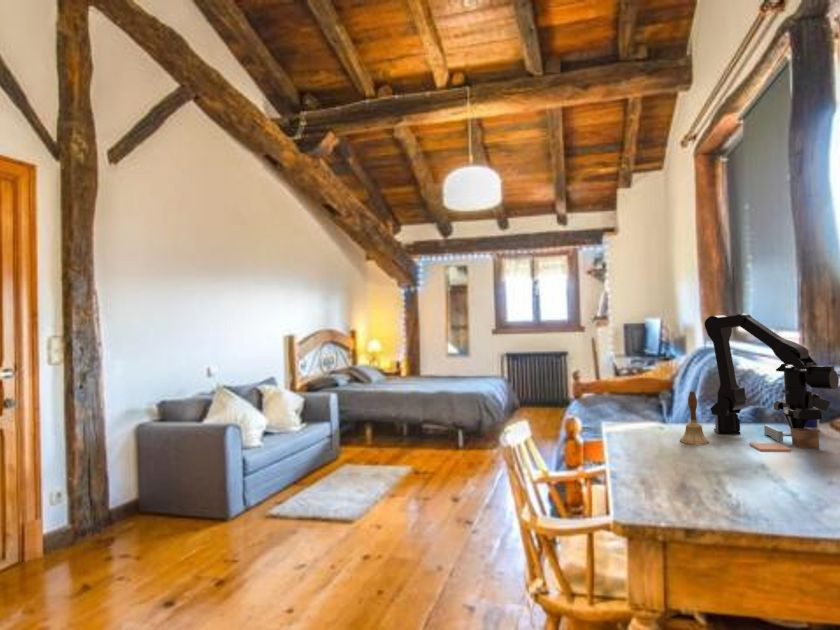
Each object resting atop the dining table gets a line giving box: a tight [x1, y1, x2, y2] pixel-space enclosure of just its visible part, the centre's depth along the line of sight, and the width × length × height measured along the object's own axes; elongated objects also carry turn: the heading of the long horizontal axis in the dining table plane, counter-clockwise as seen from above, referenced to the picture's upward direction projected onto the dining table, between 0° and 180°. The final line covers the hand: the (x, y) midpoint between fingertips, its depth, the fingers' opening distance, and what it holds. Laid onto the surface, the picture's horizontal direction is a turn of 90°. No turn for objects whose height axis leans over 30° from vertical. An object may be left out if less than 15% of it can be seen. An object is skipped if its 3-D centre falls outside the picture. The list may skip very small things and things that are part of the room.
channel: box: [763, 424, 792, 442], centre depth 173 cm, size 9×11×3 cm
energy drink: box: [804, 407, 820, 432], centre depth 183 cm, size 5×5×12 cm
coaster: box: [749, 442, 792, 453], centre depth 161 cm, size 8×8×1 cm
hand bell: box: [679, 390, 710, 445], centre depth 173 cm, size 8×8×16 cm
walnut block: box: [790, 428, 820, 450], centre depth 161 cm, size 5×5×5 cm
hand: (798, 438), depth 166 cm, fingers closed
